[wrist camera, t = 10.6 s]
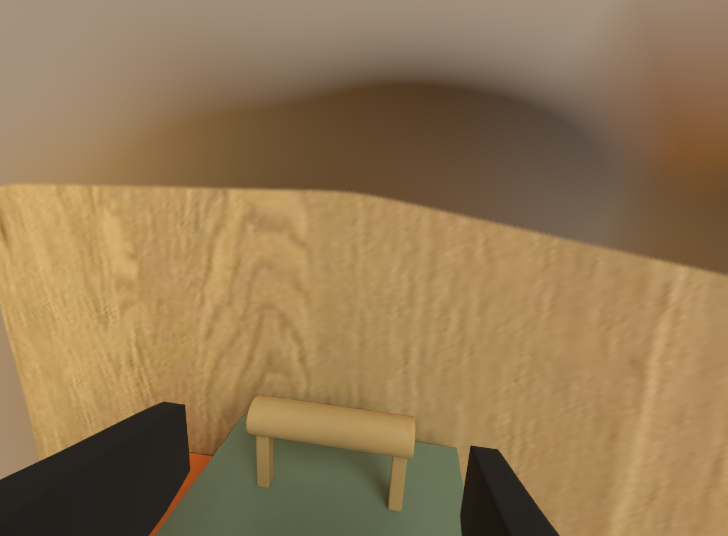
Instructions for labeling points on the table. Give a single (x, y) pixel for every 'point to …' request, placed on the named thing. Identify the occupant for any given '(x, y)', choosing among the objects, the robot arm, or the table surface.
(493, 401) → the table surface
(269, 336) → the table surface
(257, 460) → the drawer
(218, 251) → the table surface
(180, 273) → the table surface
